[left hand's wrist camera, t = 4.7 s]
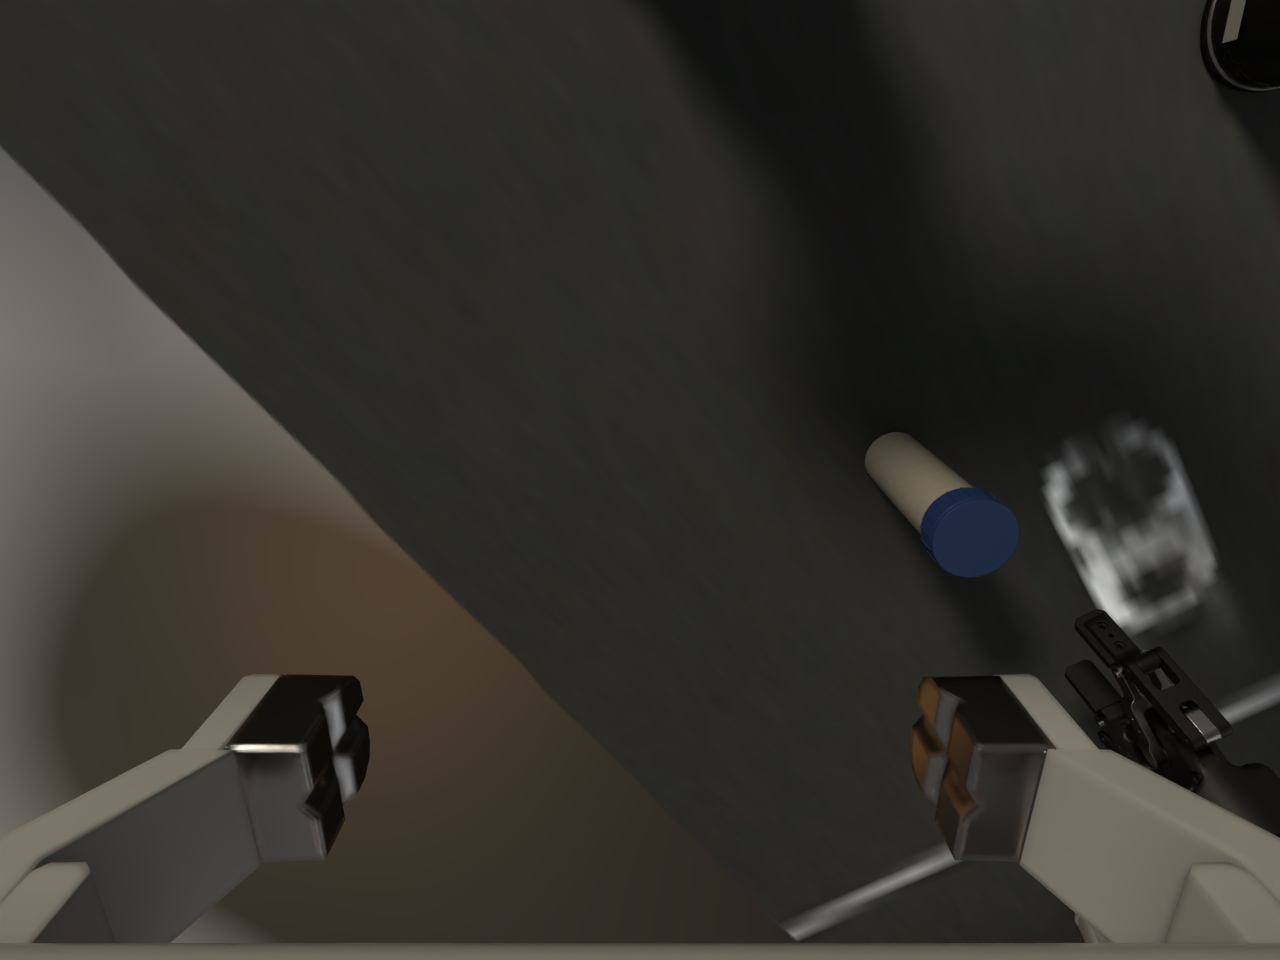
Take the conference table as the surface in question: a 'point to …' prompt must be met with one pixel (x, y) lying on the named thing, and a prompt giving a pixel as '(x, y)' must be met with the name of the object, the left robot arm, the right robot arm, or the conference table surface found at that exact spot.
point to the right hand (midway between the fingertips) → (1080, 642)
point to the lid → (969, 532)
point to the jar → (909, 474)
